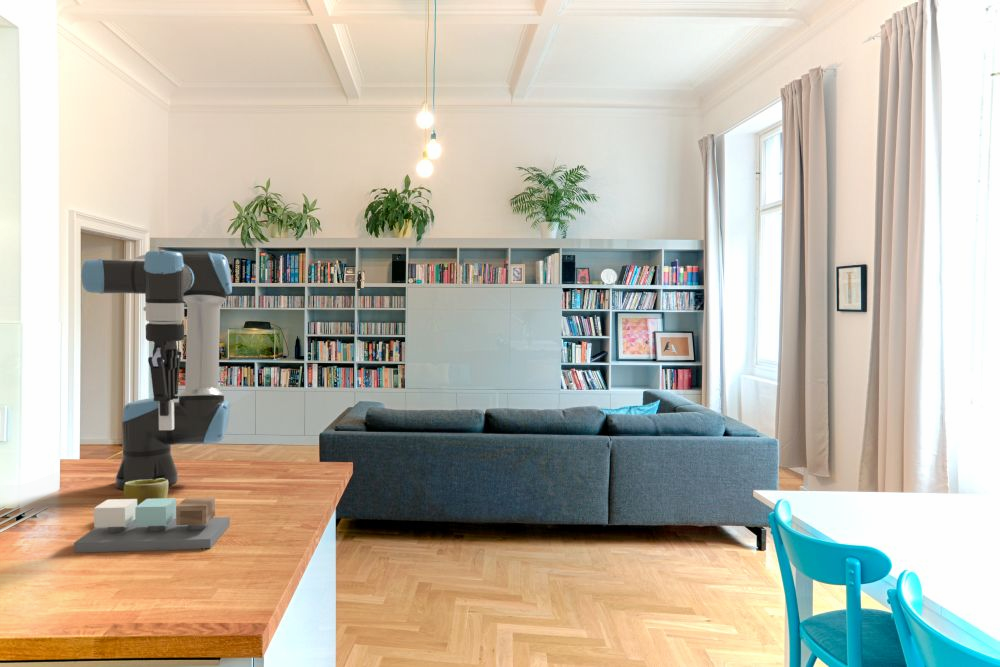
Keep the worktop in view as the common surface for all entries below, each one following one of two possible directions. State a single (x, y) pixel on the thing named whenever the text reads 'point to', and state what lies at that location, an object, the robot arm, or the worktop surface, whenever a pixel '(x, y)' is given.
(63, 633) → the worktop surface
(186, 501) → the walnut key
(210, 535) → the console
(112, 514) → the ivory key
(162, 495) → the mug
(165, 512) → the teal key
